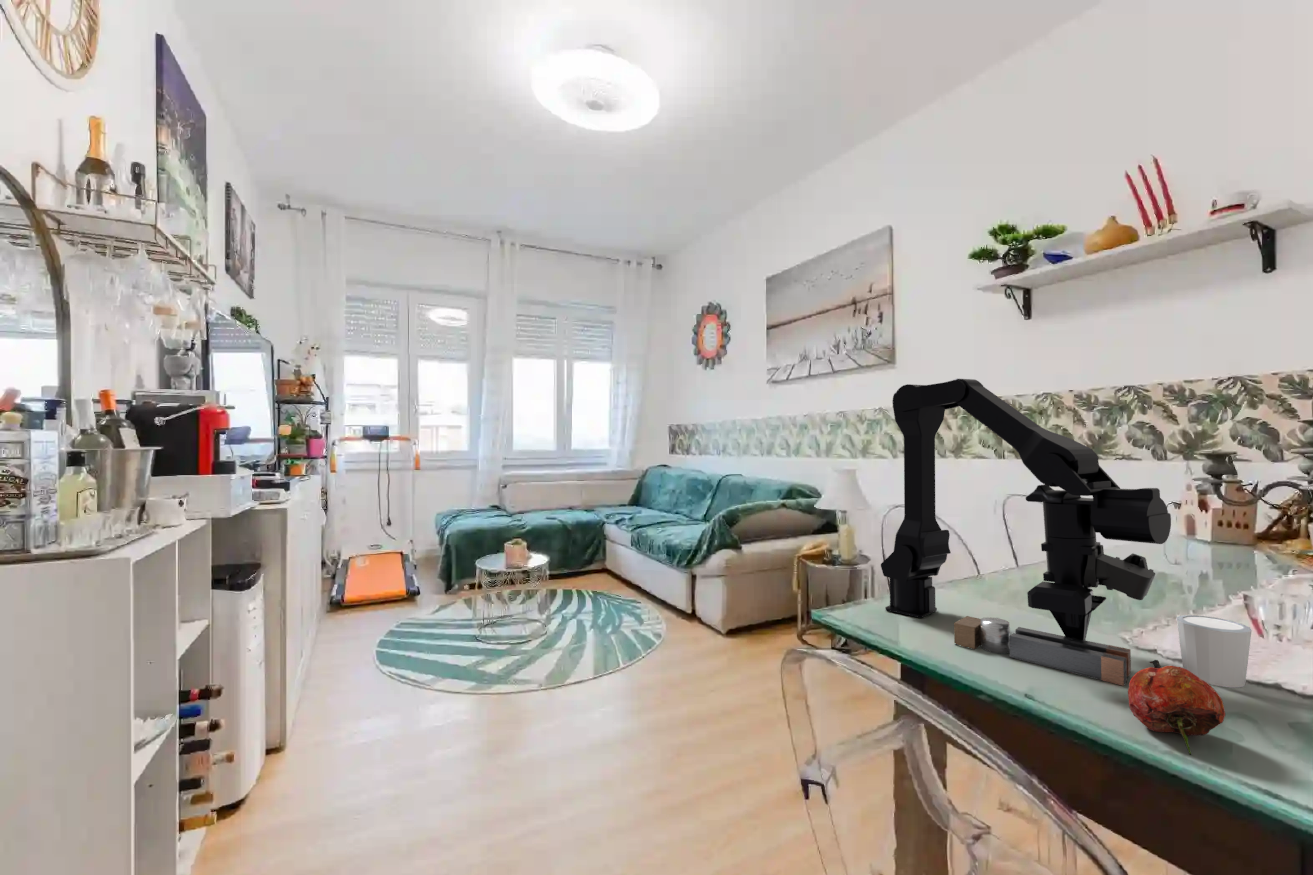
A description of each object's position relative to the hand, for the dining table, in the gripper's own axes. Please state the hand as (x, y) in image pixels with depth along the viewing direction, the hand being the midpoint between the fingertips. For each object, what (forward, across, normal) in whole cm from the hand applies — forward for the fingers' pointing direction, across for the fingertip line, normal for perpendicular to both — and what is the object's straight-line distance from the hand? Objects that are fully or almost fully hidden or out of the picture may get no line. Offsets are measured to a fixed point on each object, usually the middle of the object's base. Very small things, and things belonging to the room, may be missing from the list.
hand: (1078, 650), depth 79 cm
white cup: (+2, +5, -13) cm, 14 cm away
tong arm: (+1, -2, 0) cm, 2 cm away
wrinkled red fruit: (+2, -17, -12) cm, 20 cm away
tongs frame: (+1, -3, +4) cm, 5 cm away
